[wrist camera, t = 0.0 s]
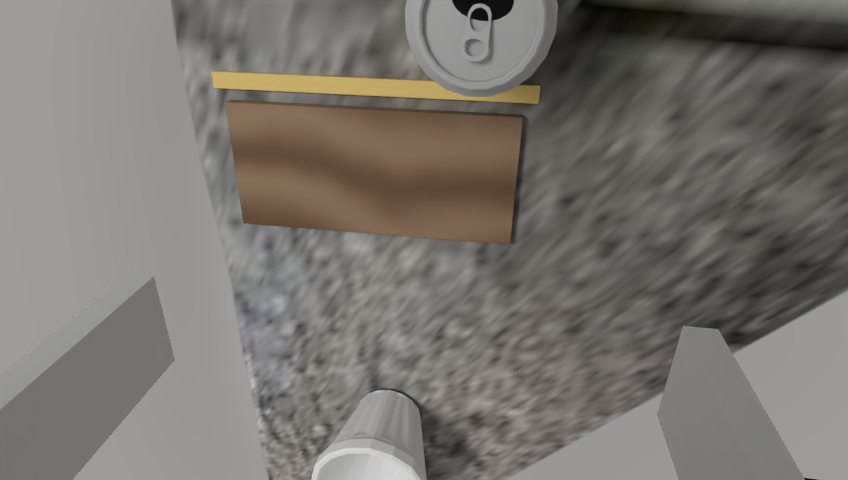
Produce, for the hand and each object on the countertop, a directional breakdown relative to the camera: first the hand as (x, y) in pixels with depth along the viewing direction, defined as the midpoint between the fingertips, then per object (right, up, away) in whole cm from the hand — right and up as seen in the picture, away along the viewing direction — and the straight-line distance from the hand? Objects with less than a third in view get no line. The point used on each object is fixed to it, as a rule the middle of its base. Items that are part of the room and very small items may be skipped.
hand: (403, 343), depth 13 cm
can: (+5, +18, +22) cm, 29 cm away
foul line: (-3, +14, +25) cm, 29 cm away
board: (-3, +8, +28) cm, 29 cm away
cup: (-3, -14, +40) cm, 42 cm away
